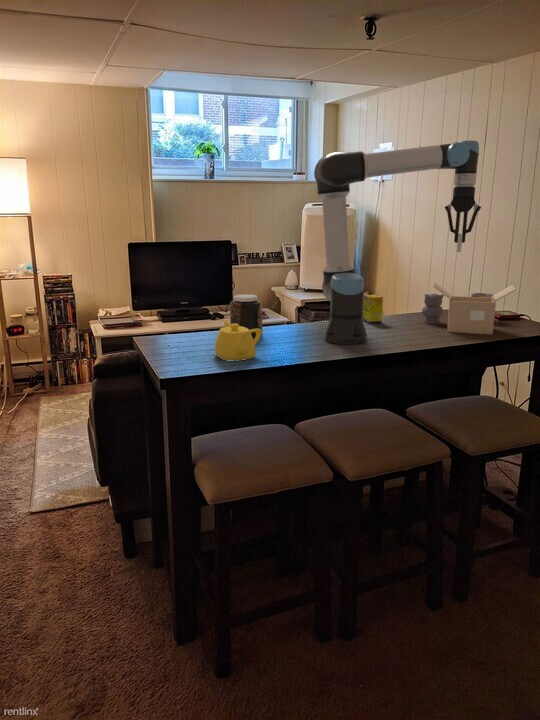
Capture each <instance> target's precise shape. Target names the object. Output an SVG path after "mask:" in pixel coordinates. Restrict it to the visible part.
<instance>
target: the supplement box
mask: <svg viewBox="0 0 540 720" xmlns="http://www.w3.org/2000/svg"><path fill="white" fill-rule="evenodd" d="M383 302H384V297H383V296H381V295H378V294H366V295H364V298H363V322H364V323H367V322H368V323H367V324H369V323H371V324H380V323H381V324H382V320H383V305H384V303H383Z"/></svg>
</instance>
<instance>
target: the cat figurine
mask: <svg viewBox="0 0 540 720" xmlns="http://www.w3.org/2000/svg"><path fill="white" fill-rule="evenodd" d="M444 296H445V295H444V294H437V293H429V294H426V293H424V301H423V302H424V307H422V309H421V314H422V315H423V316H424V318H423V323H424V324H429V325H438V324H440V318H441V316H443V314H444V309H443V307H442V306H441V305H442V304H443V298H444Z"/></svg>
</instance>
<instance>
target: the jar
mask: <svg viewBox="0 0 540 720" xmlns="http://www.w3.org/2000/svg"><path fill="white" fill-rule="evenodd" d="M233 297H234V299H233V300H232V301H230V303H229V326H230V324H239V326H242V327H245V328H247V329H249V330H252V329H261V331H262V332H263V304H262V301H261V300H258V296H257V295H256V294H237V295H234V296H233ZM230 327H231V326H230ZM251 335H252V337H253V339H255V337H256V332H252V333H251ZM262 336H263V333H262V334H261V337H262Z"/></svg>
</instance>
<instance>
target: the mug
mask: <svg viewBox="0 0 540 720" xmlns="http://www.w3.org/2000/svg"><path fill="white" fill-rule="evenodd" d="M493 295H494V293H486V292H485V293H484V292H475V293H473V292H472V293H471V295H470V297H486V298H492V296H493Z"/></svg>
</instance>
